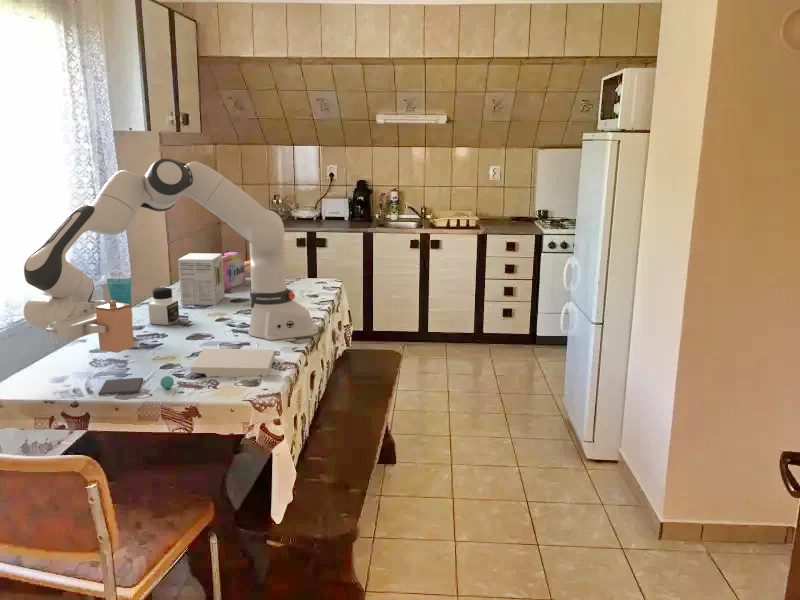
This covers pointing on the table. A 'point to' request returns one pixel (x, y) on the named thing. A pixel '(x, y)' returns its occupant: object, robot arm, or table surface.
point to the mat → (121, 386)
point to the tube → (120, 290)
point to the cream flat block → (234, 362)
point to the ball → (167, 382)
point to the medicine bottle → (163, 307)
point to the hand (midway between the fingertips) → (117, 325)
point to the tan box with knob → (115, 326)
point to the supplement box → (201, 278)
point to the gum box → (233, 268)
